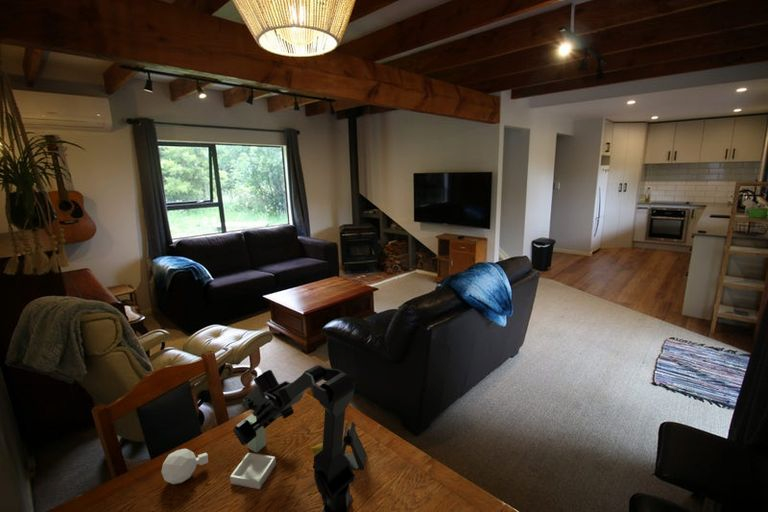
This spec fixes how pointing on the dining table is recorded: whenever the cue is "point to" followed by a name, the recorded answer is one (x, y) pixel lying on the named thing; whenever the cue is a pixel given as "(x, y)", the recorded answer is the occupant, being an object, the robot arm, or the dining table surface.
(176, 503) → the dining table surface
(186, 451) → the perfume bottle
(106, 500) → the dining table surface
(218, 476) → the dining table surface
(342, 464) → the robot arm
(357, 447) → the phone stand
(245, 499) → the dining table surface
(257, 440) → the block
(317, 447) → the drill bit
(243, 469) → the tray
